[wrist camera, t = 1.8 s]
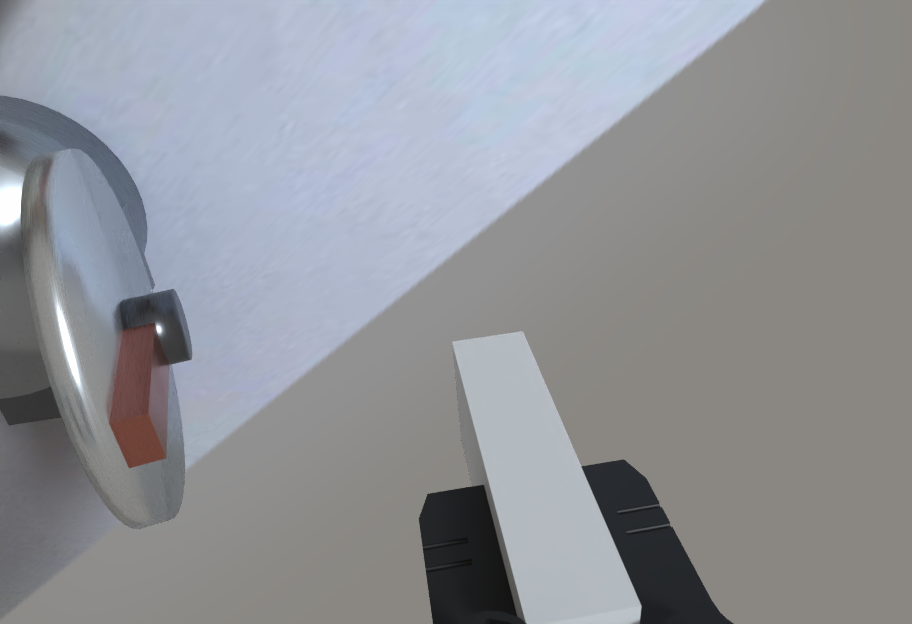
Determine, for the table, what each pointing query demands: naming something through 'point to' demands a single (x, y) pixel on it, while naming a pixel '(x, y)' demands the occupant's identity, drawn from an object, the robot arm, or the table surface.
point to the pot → (3, 276)
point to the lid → (105, 337)
